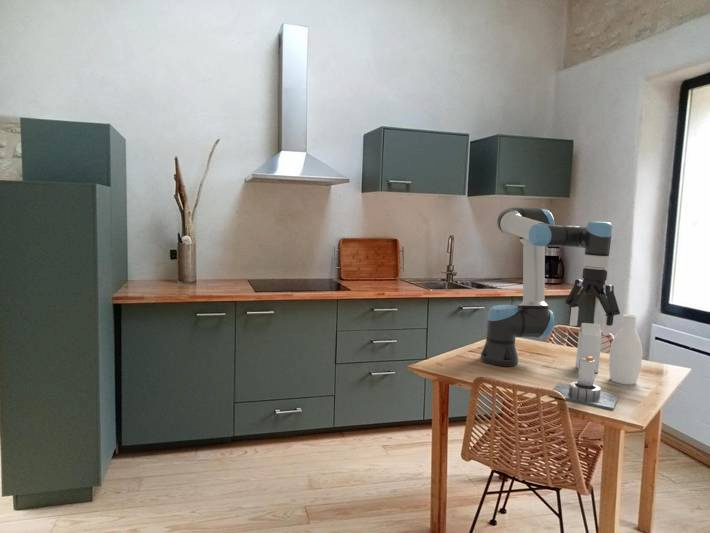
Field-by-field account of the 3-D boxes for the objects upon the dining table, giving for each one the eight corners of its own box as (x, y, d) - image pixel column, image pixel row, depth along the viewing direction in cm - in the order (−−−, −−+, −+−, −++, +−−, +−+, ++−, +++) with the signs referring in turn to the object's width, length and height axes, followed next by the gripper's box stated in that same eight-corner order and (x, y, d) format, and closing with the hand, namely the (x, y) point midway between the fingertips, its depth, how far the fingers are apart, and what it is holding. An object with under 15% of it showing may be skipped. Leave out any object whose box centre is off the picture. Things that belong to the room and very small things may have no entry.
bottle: (638, 388, 196) (645, 319, 193) (605, 381, 202) (611, 315, 199) (640, 380, 205) (647, 315, 203) (608, 374, 211) (615, 311, 209)
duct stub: (585, 397, 180) (589, 359, 178) (573, 392, 184) (576, 355, 183) (595, 395, 182) (599, 358, 181) (583, 391, 186) (586, 354, 185)
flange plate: (548, 396, 182) (549, 385, 181) (558, 384, 195) (559, 374, 195) (613, 410, 171) (614, 398, 171) (619, 397, 184) (620, 386, 184)
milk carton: (598, 373, 213) (602, 326, 211) (579, 371, 214) (583, 324, 212) (593, 368, 220) (598, 322, 218) (575, 366, 221) (579, 321, 219)
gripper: (636, 272, 169) (629, 338, 172) (574, 263, 192) (568, 321, 194) (619, 273, 166) (612, 339, 169) (558, 263, 189) (553, 322, 191)
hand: (589, 330), depth 181 cm, fingers open, 13 cm apart
